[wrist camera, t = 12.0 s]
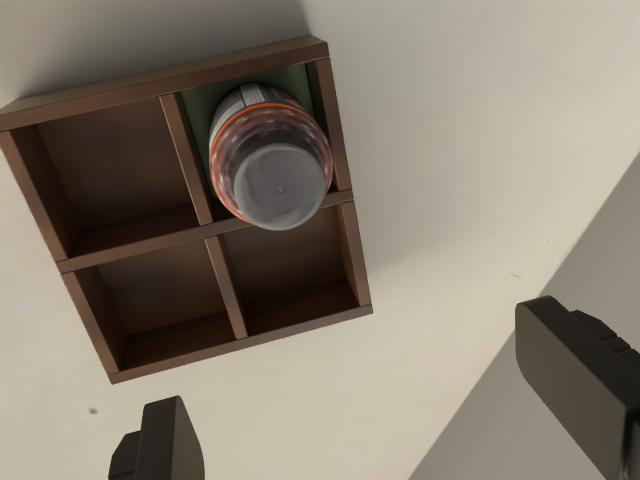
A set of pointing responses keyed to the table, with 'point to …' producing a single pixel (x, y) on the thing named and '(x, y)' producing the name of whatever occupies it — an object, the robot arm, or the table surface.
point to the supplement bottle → (268, 156)
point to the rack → (181, 213)
